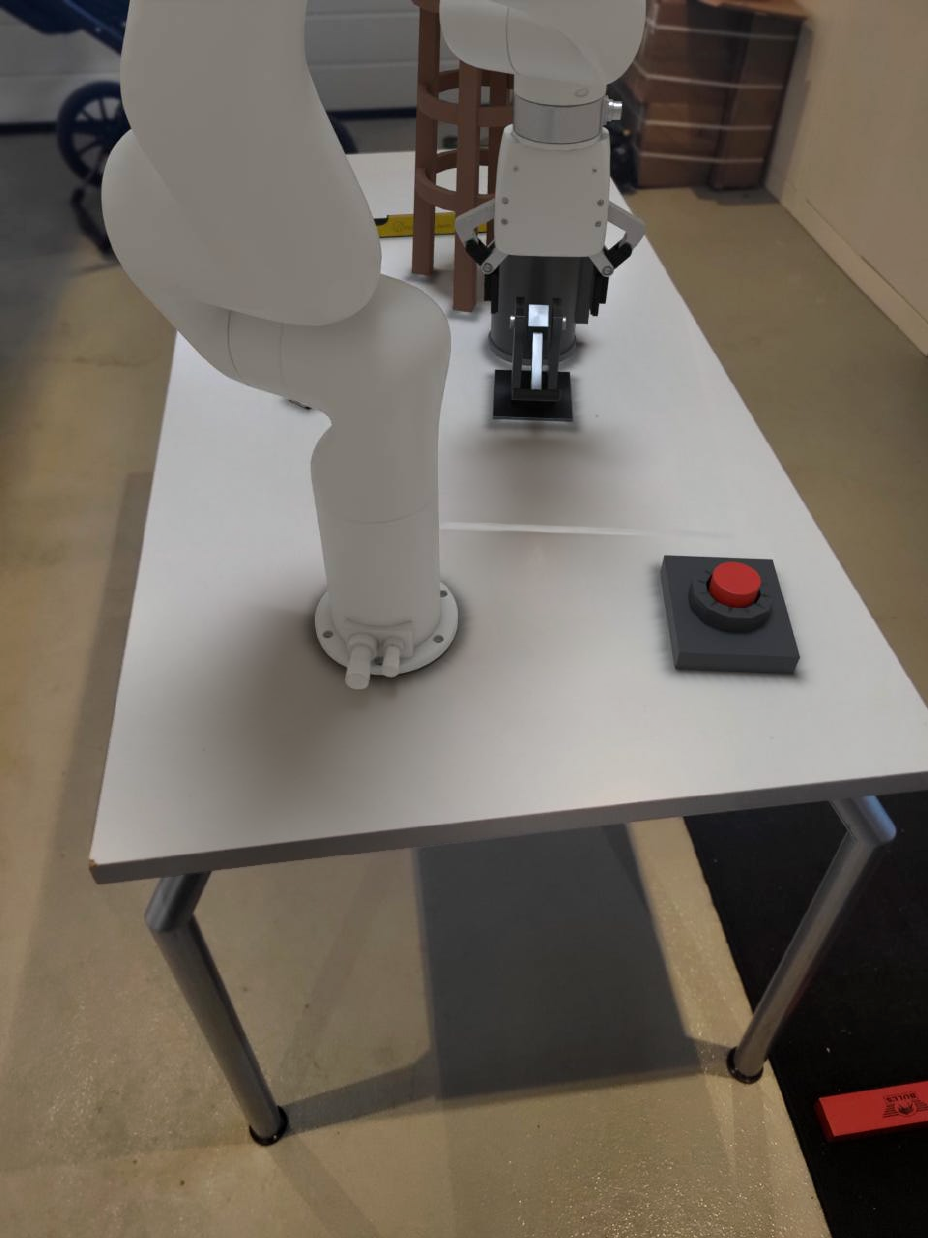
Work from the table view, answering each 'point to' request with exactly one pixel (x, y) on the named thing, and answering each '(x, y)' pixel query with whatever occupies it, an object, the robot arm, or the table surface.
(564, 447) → the table surface
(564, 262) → the kettle
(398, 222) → the spirit level
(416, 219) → the stool
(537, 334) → the kettle switch
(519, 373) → the switch bracket
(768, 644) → the power block
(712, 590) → the power button
